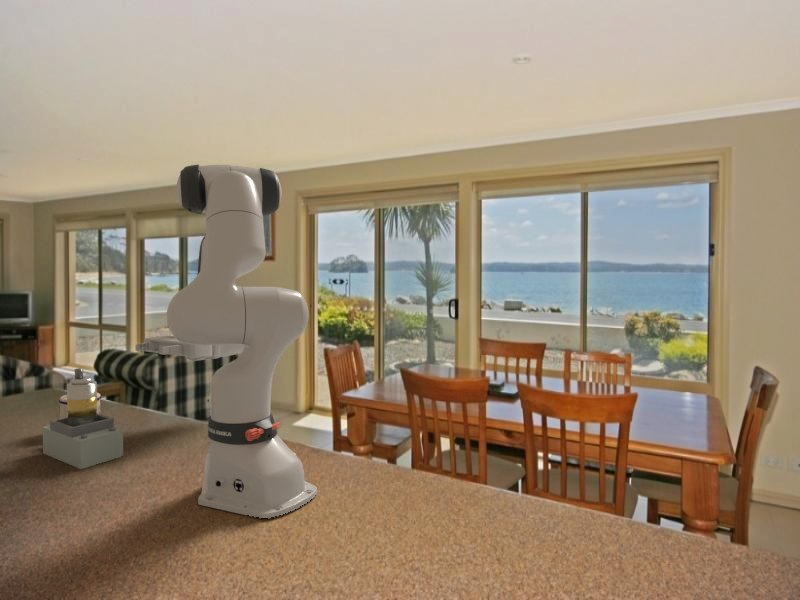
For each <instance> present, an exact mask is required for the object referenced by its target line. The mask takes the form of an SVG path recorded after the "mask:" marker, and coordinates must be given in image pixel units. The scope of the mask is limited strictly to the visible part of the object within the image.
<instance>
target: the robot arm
mask: <svg viewBox="0 0 800 600" xmlns="http://www.w3.org/2000/svg"><path fill="white" fill-rule="evenodd" d="M176 194H177V197H178V200H179V202H180V203H181V207H182V208H183V209H184V210H186V211H187V212H189V213H191V214H192V213H193V214H198V215H202V214H205V235H204V236H203V237H202V240H201V242H200V245H199V252H198V260H197V261H198V262H197V264H198V265H197V274H196V276H195V278H194V279H193V280H192V281H191V282H190V283H189V284H187V285H186V286H185V287H183V288H182V289H181V290H179V291H177V292H176V294H174V295H173V297H172V298H171V300H170V302H169V304H168V306H167V309H166V310H167V311H166V323H167V326H168V329H169V331H170V333H171V334H172V335H158V336H147V337H145V338H144V339H143V342H142V343H136V344H135V351H136V352H147V353H148V352H149V353H156V354H159V355H170V356H171V355H172V356H179V357H185V358H187V360H189V361H191V362H196V361H197V362H198V361H203V360H209V359H210V360H214V359H215V360H216V359H220V358H223V357H229V356H233V355H238V354H240V355H239V356H238V357H237V358H236V359H233V360H232V361H230V362H228V363H226V364H224V365H223V366H220V368H219V369H217V370H216V371H215V372H214V373H213V376H212V377H211V380H210V415H209V417H208V418H207V419H208V420H207V437H208V438H209V446H208V449H207V451H206V455H205V460H204V470H203V479H202V486H201V487H202V488H201V492H200V495H199V496H198V497H197V498H198V499H197V504H198V505H199V506H203V507H206V508H207V507H208V508H212V509H217V510H221V511H226V512H229V513H235V514H240V515H242V516H243V515H244V516H247V515H249V516H248V517H252V516H254V517H253V518H256V517H259V518H258V519H261V518H268V519H272V518H271V517H274V516H277V517H280V516H279V515H281V516H284V515H286V514H288V512H289V513H291V512H294V511H296V510H298V509H299V508H301V507H303V506H305V505H306V504H308V503H309V502H310V500H311V499H312V500H313V499H314V498H315V497H316V496H317V494H318V487H317V486H316V485H314V484H313V483H310V482H308V481H306V480H305V469H304V465H303V462H302V460H301V459H300V458H299V457H298V456H297V454H296V453H295V452H294V451H292V450H291V449H290V448H289V446H288V445H287V444H286V443H285V442H284V441H283V440H282V439H281V438H280V436H279V435H278V429H279V428H282V425H281V423H282V421H278V422H276V421H275V419H274V415H273V413H272V412H271V406H272V405H271V400H272V399H271V398H272V397H271V396H272V384H273V376H274V372H275V370H276V369H275V368H276V366H277V364H278V362H279V360H280V358H281V357H282V355H283V353H284V352H285V351H286V350H287V348H288V347H290V345H291V344H292V343H294V341H296V340H297V339H299V337H301V335H303V333H304V332H305V330H306V328H307V326H308V322H309V320H310V319H309V317H310V313H309V312H310V311H309V307H308V303H307V301H306V299H305V297H304V296H303V295H302V294H301V293H300V292H299V291H298V290H294V289H290V288H285V287H280V286H279V287H278V286H241V285H237V283H236V280H237V279H239V278H241V277H242V276H245V275H247V274H250V273H251V272H254V270H257V268H259V267H260V266H261V265H262V264H263V262H264V261H265V258H266V255H267V253H266V250H267V249H266V237H265V228H264V226H265V225H264V217H265V216H269V215H272V214H274V213H276V211H277V210H279V208H280V204H281V201H282V198H283V189H282V185H281V182H280V179H279V176H278V175H277V174H276V172H275V171H274V170H272V169H271V170H270V169H269V168H267V169H266V168H264V167H263V168H262V167H260V168H254V167H248V166H238V165H230V164H210V165H208V164H207V165H200V164H191V165H188V166H187V165H186V166H184V167H183V169H181V170H180V173H179V175H178V178H177V180H176ZM315 495H316V496H315ZM312 500H311V501H312ZM307 502H308V503H307ZM304 504H305V505H304ZM302 505H303V506H302ZM300 506H301V507H300ZM295 509H296V510H295ZM290 511H291V512H290ZM285 513H286V514H285ZM283 514H284V515H283ZM274 518H275V517H274Z"/></svg>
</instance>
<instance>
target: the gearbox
mask: <svg viewBox="0 0 800 600" xmlns="http://www.w3.org/2000/svg"><path fill="white" fill-rule="evenodd" d="M49 423H50V424H49V425H45V426H43V427H42V452H43V453H42V454H44V455H46V456H48V457H51V458H53V459H56V460H58V461H60V462H63V463H65V464H67V465H70V466H72V467H75V468H77V469H79V470H83V469H87V468H89V467H93V466H96V464H97V465H99V463H100V464H102V462H103V463H106V462H109V460H110V461H113V460H115V459H114V458H116V459H118V457H119V458H122V457H121V456H123V457H124V430H123V429H122V428H118V427H116V426H115V419H114V417H111V416H108V415H105V414H101V413H100V414H98V413H97V421H96V422H92V423H88V424H84V425H80V426H75V427H72V426H69V425H68V417H66V418H62V419H60V418H59V419H54V420H53V419H52V420H50V421H49ZM112 459H113V460H112Z"/></svg>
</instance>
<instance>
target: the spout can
mask: <svg viewBox="0 0 800 600" xmlns="http://www.w3.org/2000/svg"><path fill="white" fill-rule="evenodd" d="M70 381H71V382H68V383H67V385H66V388H67V389H66V392H67V394H66V395H67V416H68V425H69V426H72V427H75V426H80V425H84V424H88V423H92V422H96V421H97V393H98V386H97V384H98V383H97V381H96V380H93V377H92V376H84V368H75V369H74V377H73V378H71V380H70Z"/></svg>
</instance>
